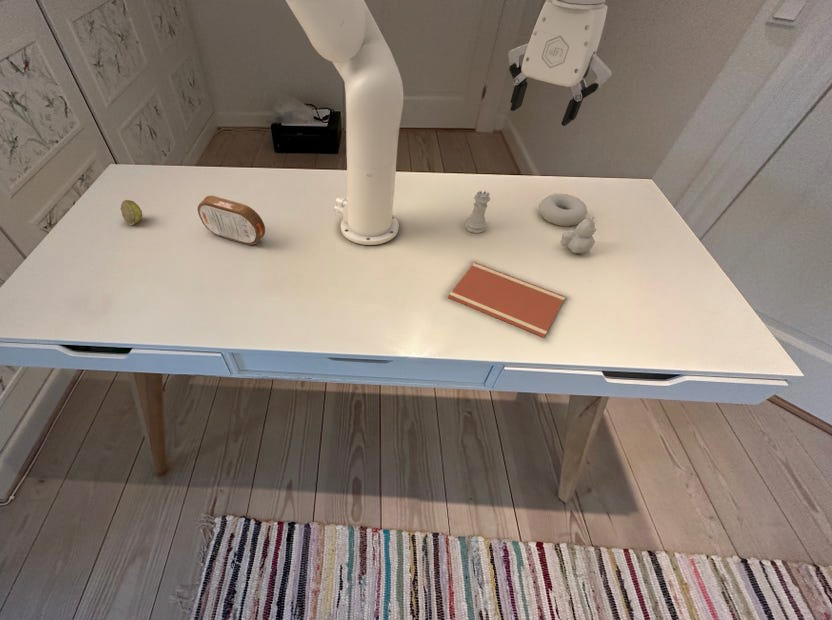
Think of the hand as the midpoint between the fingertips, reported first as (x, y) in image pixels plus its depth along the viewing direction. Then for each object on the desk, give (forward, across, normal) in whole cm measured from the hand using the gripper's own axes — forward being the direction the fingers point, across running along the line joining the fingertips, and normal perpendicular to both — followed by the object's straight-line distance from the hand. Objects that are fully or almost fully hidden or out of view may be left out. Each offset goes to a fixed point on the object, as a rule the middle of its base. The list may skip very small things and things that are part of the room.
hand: (540, 115), depth 76 cm
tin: (+23, -42, -42) cm, 63 cm away
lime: (+23, -64, -52) cm, 86 cm away
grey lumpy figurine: (+22, +15, 0) cm, 27 cm away
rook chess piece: (+22, -4, -6) cm, 23 cm away
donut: (+22, +8, +11) cm, 26 cm away
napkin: (+22, +12, -22) cm, 33 cm away
